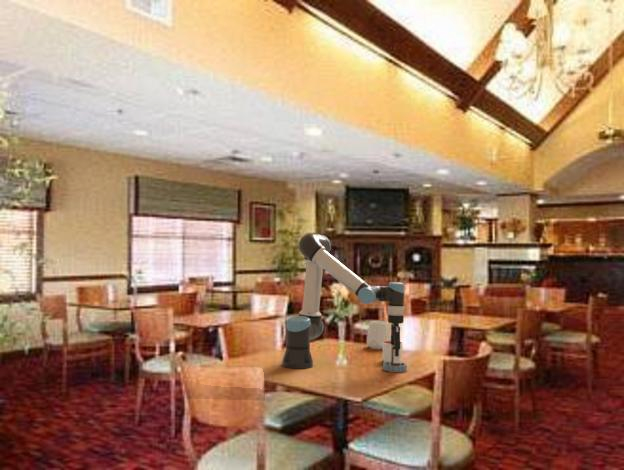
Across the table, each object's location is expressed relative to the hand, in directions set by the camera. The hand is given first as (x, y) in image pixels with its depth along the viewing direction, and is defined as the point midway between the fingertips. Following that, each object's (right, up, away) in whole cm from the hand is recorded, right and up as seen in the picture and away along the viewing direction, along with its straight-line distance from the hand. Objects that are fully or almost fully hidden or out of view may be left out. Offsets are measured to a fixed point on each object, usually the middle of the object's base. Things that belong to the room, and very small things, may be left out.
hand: (394, 360), depth 282 cm
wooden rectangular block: (0, -4, 0) cm, 4 cm away
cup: (+1, -5, +19) cm, 20 cm away
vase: (-1, -5, +60) cm, 60 cm away
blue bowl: (0, -4, 0) cm, 4 cm away
